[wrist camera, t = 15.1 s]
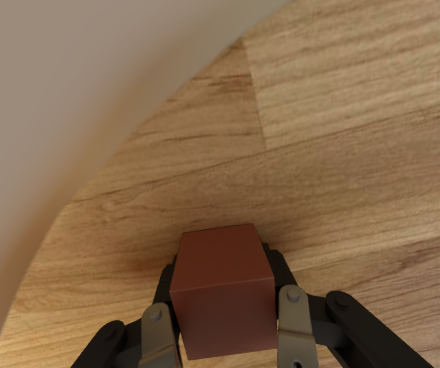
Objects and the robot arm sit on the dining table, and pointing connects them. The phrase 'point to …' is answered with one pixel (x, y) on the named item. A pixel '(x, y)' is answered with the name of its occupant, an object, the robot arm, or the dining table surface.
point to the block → (224, 293)
